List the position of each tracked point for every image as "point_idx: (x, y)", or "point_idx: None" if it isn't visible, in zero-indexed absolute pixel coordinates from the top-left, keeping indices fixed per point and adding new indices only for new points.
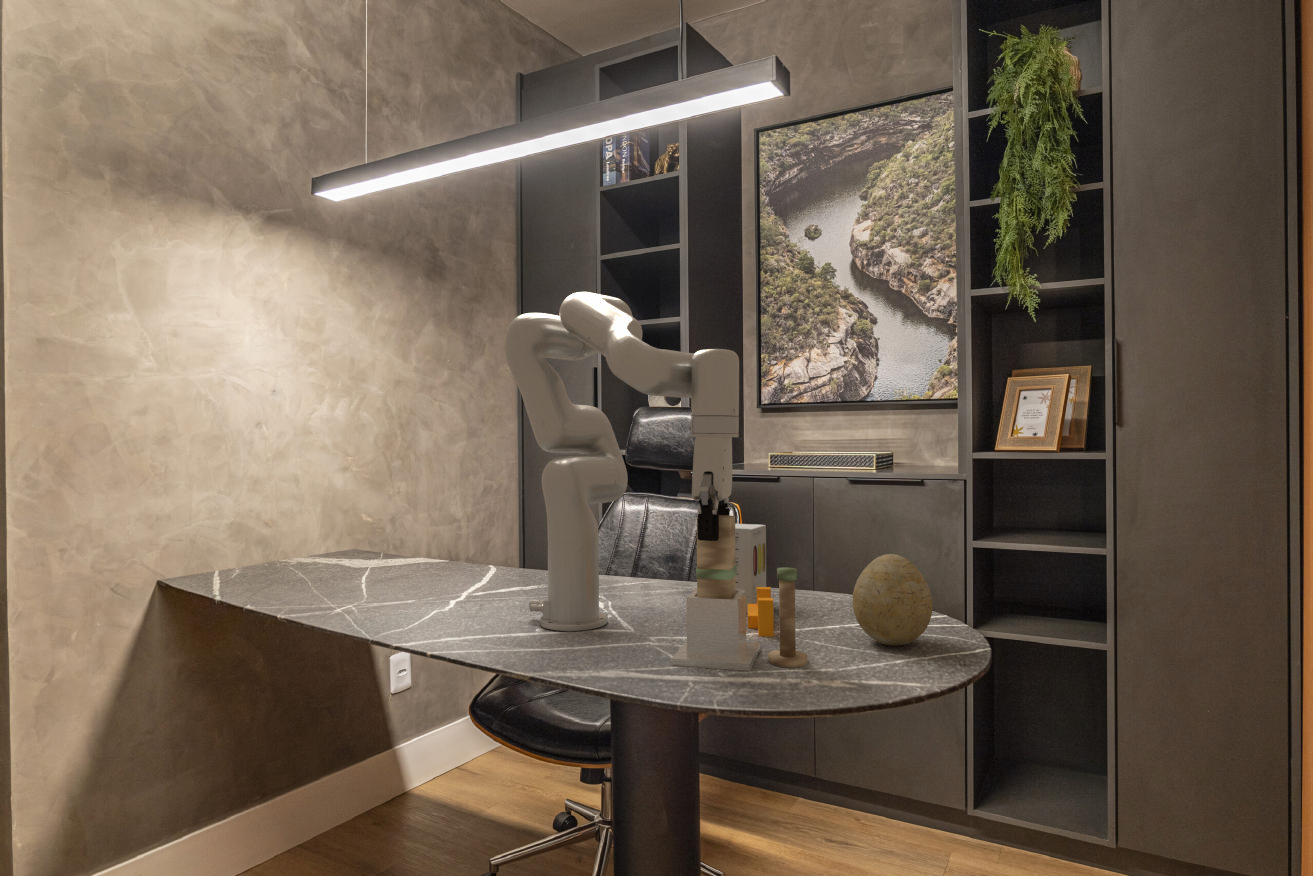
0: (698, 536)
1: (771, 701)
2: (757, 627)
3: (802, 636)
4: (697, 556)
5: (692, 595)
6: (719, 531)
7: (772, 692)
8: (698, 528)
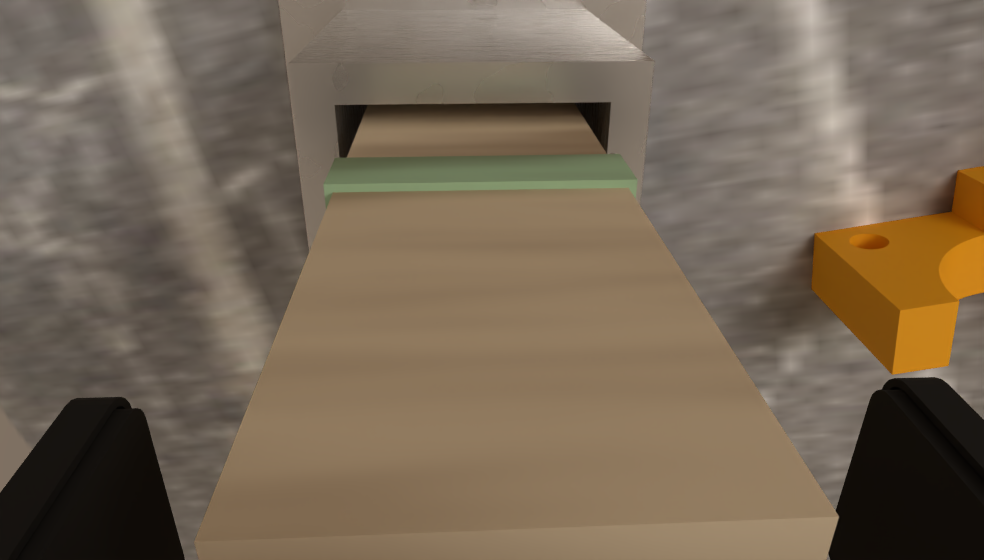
0: (63, 426)
1: (36, 374)
2: (954, 211)
3: (817, 383)
4: (314, 242)
5: (364, 91)
6: None
7: (121, 367)
8: (5, 506)
